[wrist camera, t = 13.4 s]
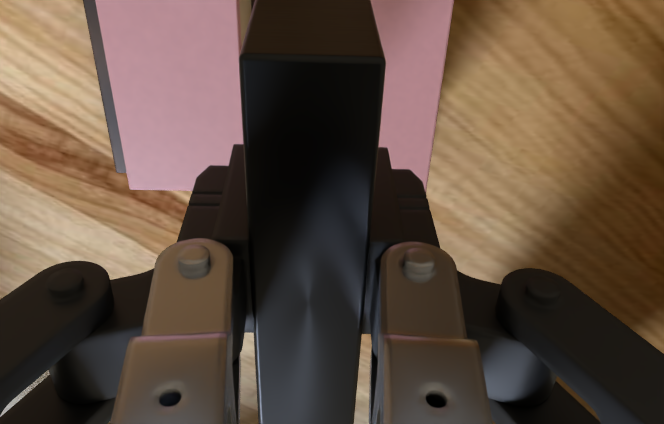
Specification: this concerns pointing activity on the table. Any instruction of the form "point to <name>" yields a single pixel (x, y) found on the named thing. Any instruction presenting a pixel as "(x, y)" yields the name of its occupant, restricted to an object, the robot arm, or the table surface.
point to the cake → (174, 85)
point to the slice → (412, 77)
